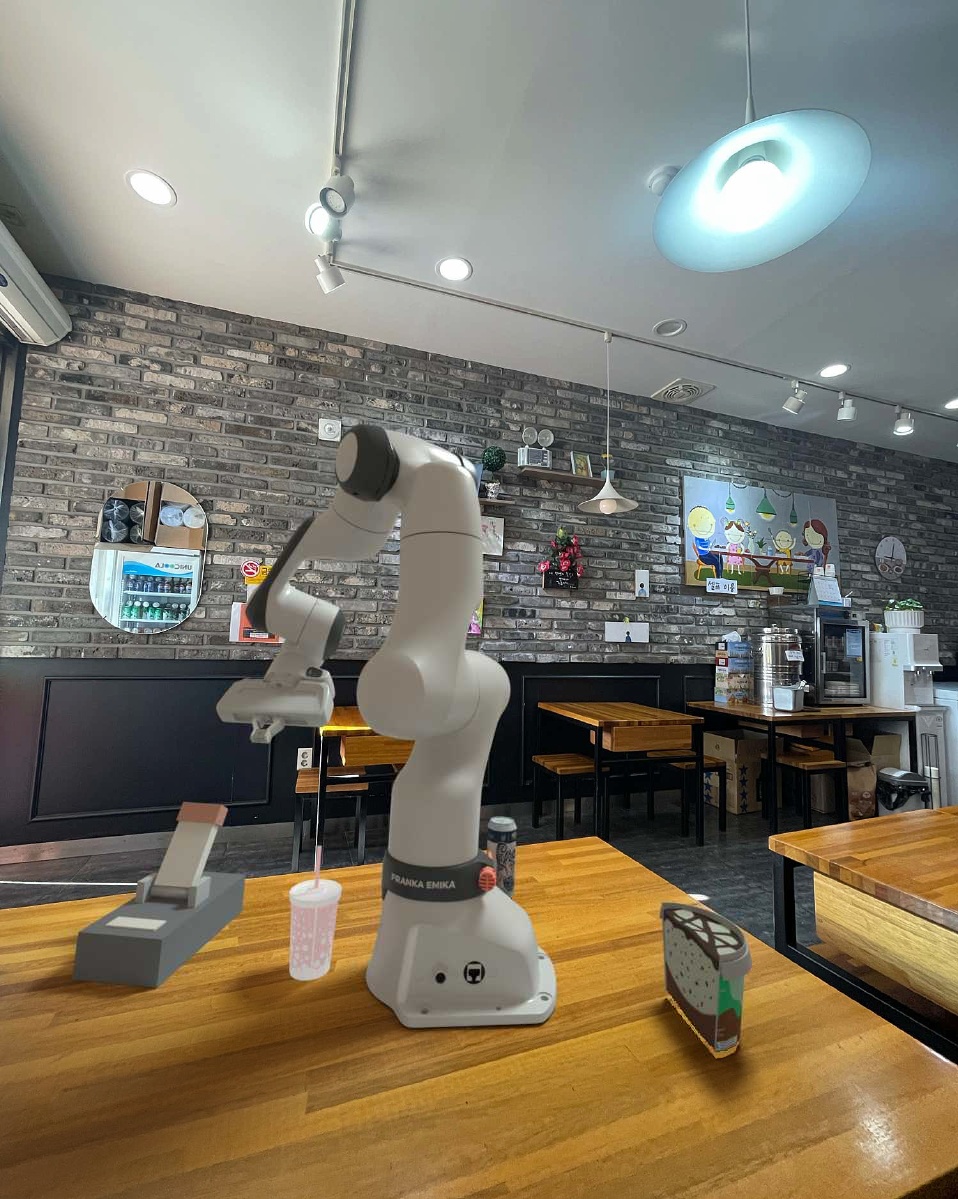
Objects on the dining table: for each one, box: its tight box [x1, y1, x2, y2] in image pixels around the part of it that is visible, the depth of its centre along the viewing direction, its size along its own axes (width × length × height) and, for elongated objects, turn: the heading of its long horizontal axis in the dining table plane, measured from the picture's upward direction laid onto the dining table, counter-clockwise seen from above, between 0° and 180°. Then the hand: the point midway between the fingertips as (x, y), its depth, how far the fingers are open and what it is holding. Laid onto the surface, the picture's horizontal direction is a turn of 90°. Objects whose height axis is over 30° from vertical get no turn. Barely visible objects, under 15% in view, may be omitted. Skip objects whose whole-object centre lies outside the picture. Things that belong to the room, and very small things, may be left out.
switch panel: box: [71, 870, 246, 989], centre depth 67 cm, size 10×18×8 cm, turn 176°
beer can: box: [486, 816, 518, 898], centre depth 84 cm, size 5×5×12 cm
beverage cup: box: [288, 845, 343, 981], centre depth 63 cm, size 6×6×14 cm
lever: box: [151, 801, 229, 899], centre depth 70 cm, size 6×2×12 cm
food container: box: [658, 901, 753, 1052], centre depth 56 cm, size 12×6×10 cm, turn 9°
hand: (259, 740), depth 88 cm, fingers closed
